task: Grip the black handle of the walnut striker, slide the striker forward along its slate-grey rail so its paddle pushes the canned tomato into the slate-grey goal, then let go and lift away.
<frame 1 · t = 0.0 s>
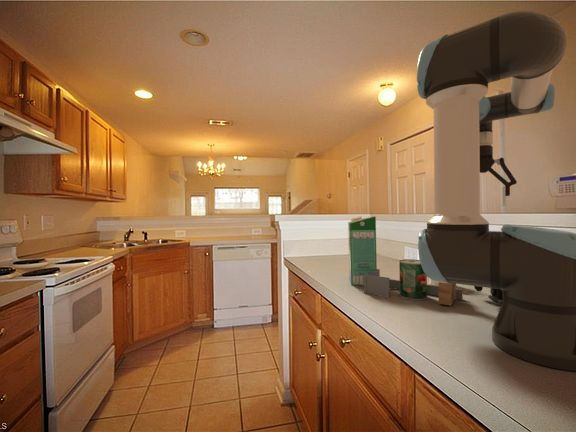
hand: (479, 206, 99), 28 cm above the countertop, tool pointing down, fingers open, 13 cm apart
milk carton: (362, 282, 105), on the countertop
striker: (447, 269, 81), point 9 cm above the countertop, slide at 0.0 cm
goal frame: (411, 296, 87), on the countertop
canned tomato: (413, 297, 87), on the countertop
white cup: (439, 284, 101), on the countertop
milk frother: (509, 306, 77), on the countertop
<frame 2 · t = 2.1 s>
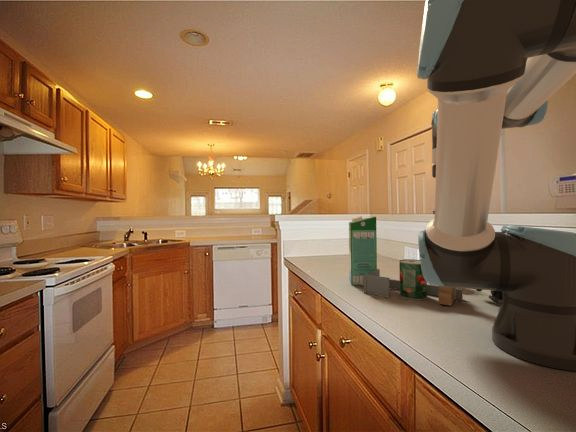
hand: (447, 236, 81), 19 cm above the countertop, tool pointing down, fingers open, 13 cm apart
nothing on the countertop moved.
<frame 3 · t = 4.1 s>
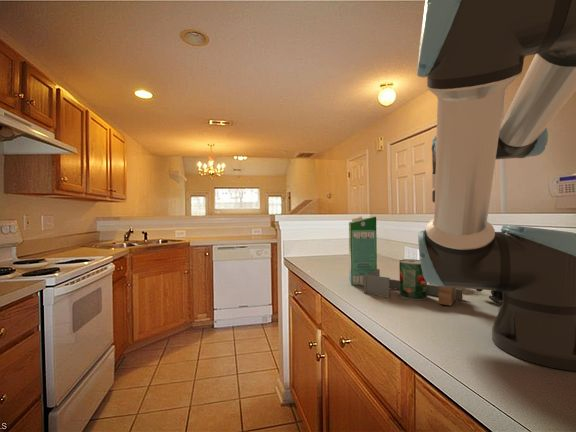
hand: (447, 269, 81), 10 cm above the countertop, tool pointing down, fingers closed on striker, 2 cm apart
striker: (447, 269, 81), point 9 cm above the countertop, slide at 0.0 cm, touching gripper
everything else where it was.
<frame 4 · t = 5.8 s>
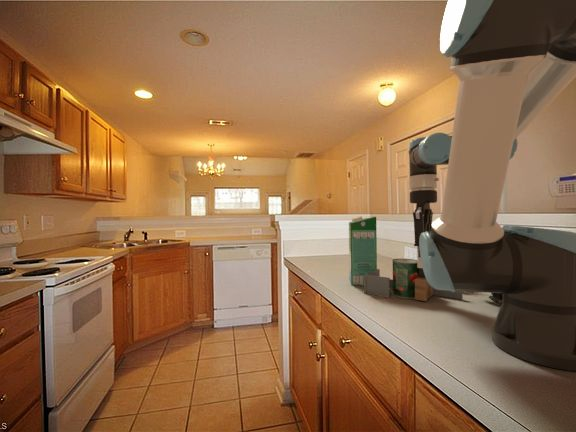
hand: (423, 267, 85), 10 cm above the countertop, tool pointing down, fingers closed on striker, 2 cm apart
striker: (424, 267, 85), point 10 cm above the countertop, slide at 6.3 cm, touching canned tomato, gripper
canned tomato: (405, 295, 88), on the countertop, touching striker
everything else where it was.
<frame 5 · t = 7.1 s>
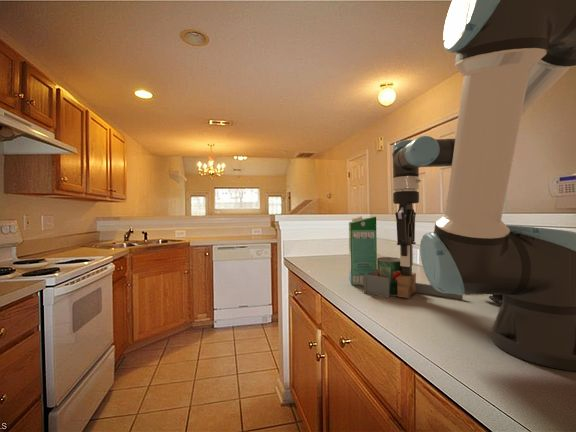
hand: (406, 265, 88), 10 cm above the countertop, tool pointing down, fingers closed on striker, 2 cm apart
striker: (406, 265, 88), point 9 cm above the countertop, slide at 11.4 cm, touching canned tomato, gripper
canned tomato: (389, 292, 91), on the countertop, touching striker
everything else where it was.
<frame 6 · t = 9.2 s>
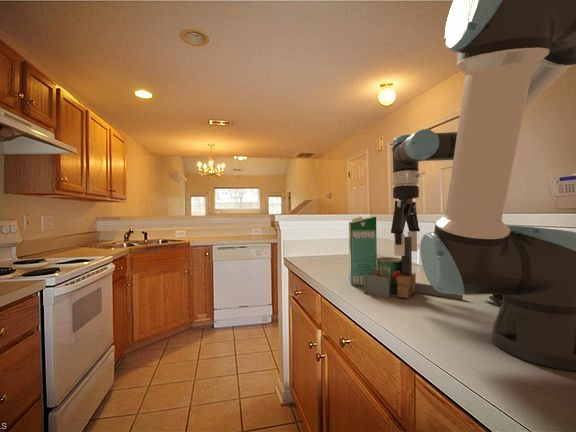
hand: (406, 253, 88), 13 cm above the countertop, tool pointing down, fingers open, 13 cm apart
striker: (406, 265, 88), point 9 cm above the countertop, slide at 11.4 cm
canned tomato: (389, 293, 92), on the countertop
everything else where it was.
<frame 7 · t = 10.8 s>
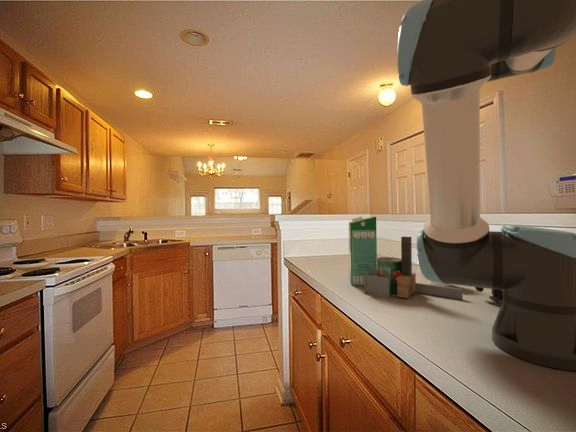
hand: (463, 190, 83), 33 cm above the countertop, tool pointing down, fingers open, 13 cm apart
nothing on the countertop moved.
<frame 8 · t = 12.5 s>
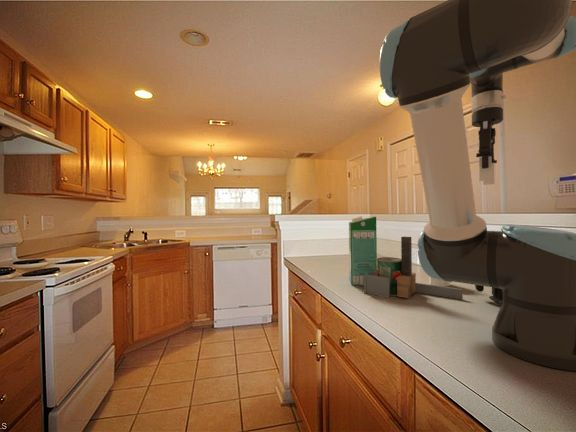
hand: (487, 182, 82), 35 cm above the countertop, tool pointing down, fingers open, 13 cm apart
nothing on the countertop moved.
at the end: canned tomato inside the target area (1.0 cm from its centre), on the countertop; canned tomato tilted 0°; striker slide at 11.4 cm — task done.
